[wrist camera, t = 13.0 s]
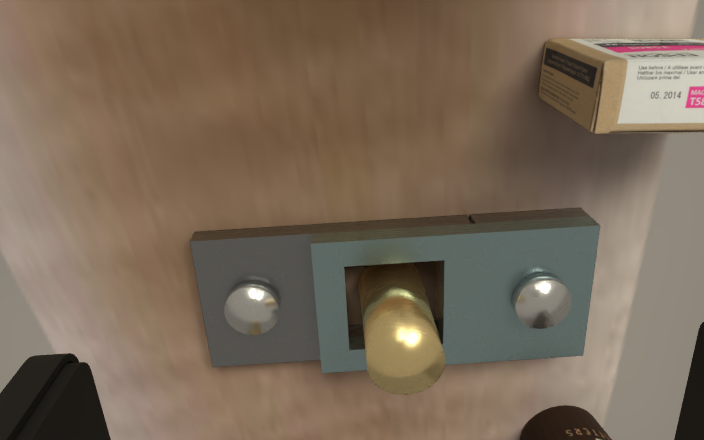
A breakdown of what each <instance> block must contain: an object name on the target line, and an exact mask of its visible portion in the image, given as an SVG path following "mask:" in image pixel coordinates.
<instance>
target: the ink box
mask: <svg viewBox="0 0 704 440" xmlns="http://www.w3.org/2000/svg"><path fill="white" fill-rule="evenodd" d="M538 96H539V98H540V99H542V100H543V101H545V102H546V103H548V104H549V105H551V106H552V107H554V108H555V109H557V110H558V111H560V112H561V113H563V114H564V115H566V116H567V117H569V118H570V119H572V120H573V121H575V122H576V123H578V124H579V125H581V126H582V127H584V128H585V129H586V130H588V131H589V132H591V133H594V134H610V133H704V39H549V40H547V41H546V43H545V48H544V55H543V62H542V70H541V78H540V86H539V94H538Z"/></svg>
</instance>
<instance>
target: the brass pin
mask: <svg viewBox="0 0 704 440" xmlns="http://www.w3.org/2000/svg"><path fill="white" fill-rule="evenodd" d="M359 292H360V302H361V312H362V321H363V331H364V340H365V350H366V359H367V368H368V373H369V375H370V377H371V379H372V381H373V382H374V383H375V384H376V385H377V386H378V387H379V388H381V389H383V390H385V391H387V392H390V393H393V394H399V395H408V394H414V393H418V392H421V391H423V390H425V389H427V388H429V387H430V386H432V385H433V384H434V383H435V382H436V381H437V380H438V379H439V377H440V376H441V374H442V372H443V370H444V366H445V355H444V351H443V348H442V344H441V341H440V338H439V335H438V332H437V328H436V325H435V322H434V319H433V316H432V312H431V309H430V306H429V303H428V300H427V296H426V293H425V290H424V287H423V283H422V280H421V277H420V274H419V272H418V270H417V268H416V267H415V266H414V265H413V264H412V263H411V262H410V263H394V264H378V265H368V266H367V267H366V268H365V269H364V270H363V272H362V274H361V276H360V279H359Z"/></svg>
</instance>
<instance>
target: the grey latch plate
mask: <svg viewBox="0 0 704 440" xmlns="http://www.w3.org/2000/svg"><path fill="white" fill-rule="evenodd" d="M459 224H471V223H470V221H469V219H468V218H467V216H466V215H456V216H440V217H424V218H408V219H392V220H376V221H360V222H344V223H328V224H312V225H296V226H281V227H265V228H249V229H233V230H217V231H201V232H195V233H194V234H193V236H192V238H191V240H190V245H191V250H192V256H193V261H194V267H195V273H196V278H197V284H198V289H199V295H200V301H201V306H202V312H203V317H204V323H205V329H206V334H207V340H208V345H209V351H210V357H211V362H212V367H222V366H237V365H252V364H267V363H282V362H297V361H311V360H321V358H320V347H319V335H318V324H317V312H316V301H315V289H314V278H313V266H312V255H311V234H316V233H332V232H348V231H364V230H380V229H396V228H412V227H427V226H443V225H459ZM439 311H440V261H436V320H434V322H435V325H436V328H437V332H438V331H439ZM348 336H349V337H362V336H364V331H363V324H362V325H348Z"/></svg>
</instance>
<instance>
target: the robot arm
mask: <svg viewBox="0 0 704 440" xmlns="http://www.w3.org/2000/svg"><path fill="white" fill-rule="evenodd" d="M0 440H111V439H110V436H109V432H108V429H107V425H106V422H105V418H104V414H103V411H102V407H101V404H100V400H99V397H98V393H97V390H96V386H95V383H94V379H93V375H92V372H91V369H90V367H89V365H88V364H87V363H85V362H80V363H79V361H78V359H77V357H76V356H75V355H74V354H71V353H69V354H54V355H39V356H32V357H30V358H28V359H27V360H26V361H25V363H24V364H23V365H22V366H21V367H20V369H19V370H18V371H17V373H16V374H15V375H14V376H13V378H12V379H11V380H10V382H9V383H8V384H7V385H6V387H5V388H4V389H3V391H2V392H1V393H0ZM674 440H704V322H703V323H702V324H701V326H700V328H699V331H698V336H697V340H696V345H695V350H694V354H693V358H692V363H691V368H690V372H689V377H688V381H687V385H686V390H685V394H684V399H683V403H682V408H681V412H680V417H679V421H678V425H677V430H676V435H675V439H674Z"/></svg>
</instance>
